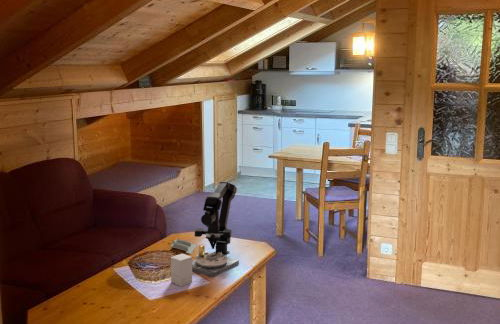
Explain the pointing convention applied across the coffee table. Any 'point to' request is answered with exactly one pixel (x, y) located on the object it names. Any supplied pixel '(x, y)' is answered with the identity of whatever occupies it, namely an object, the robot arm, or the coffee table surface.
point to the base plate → (216, 270)
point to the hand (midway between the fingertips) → (213, 248)
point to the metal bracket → (183, 245)
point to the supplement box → (181, 269)
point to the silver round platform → (210, 258)
